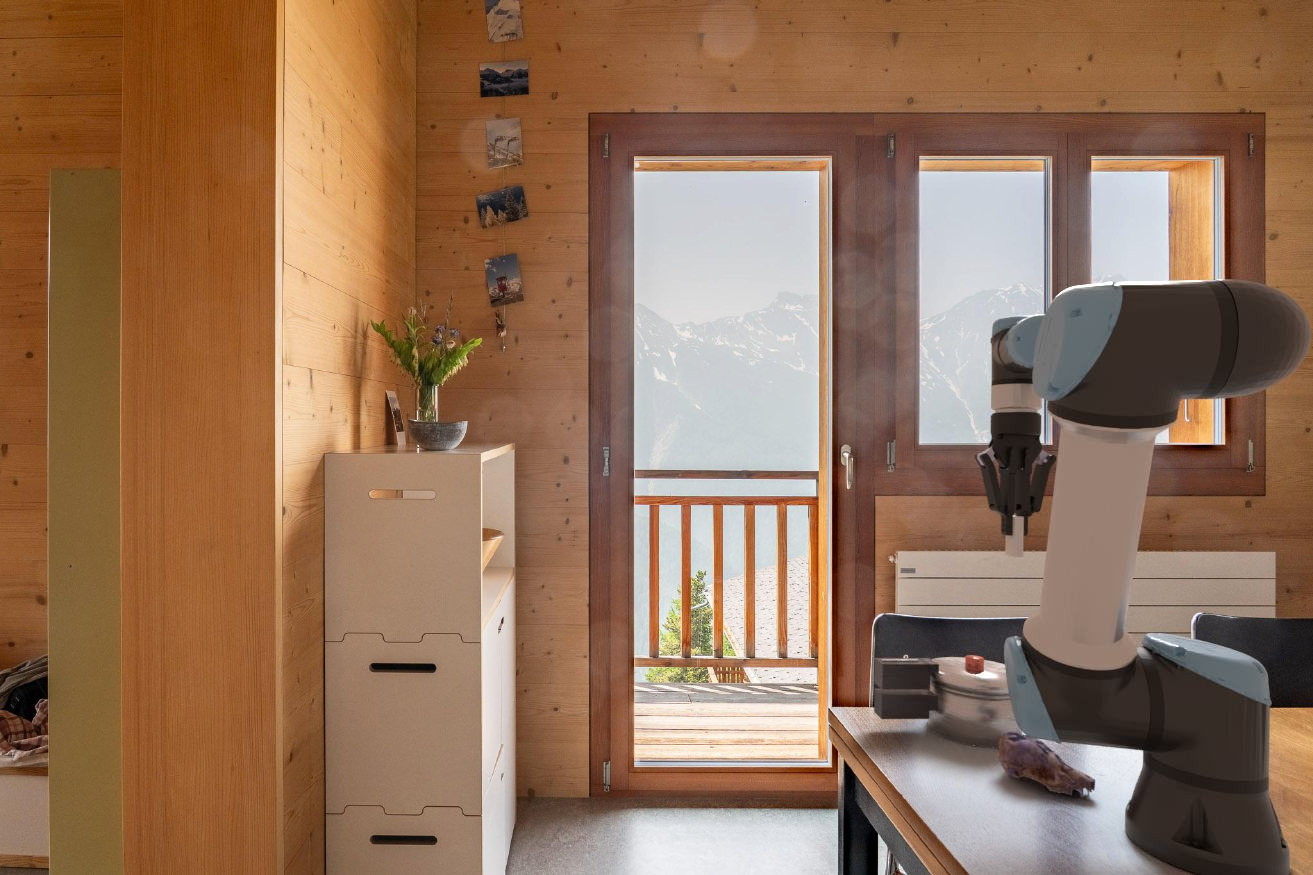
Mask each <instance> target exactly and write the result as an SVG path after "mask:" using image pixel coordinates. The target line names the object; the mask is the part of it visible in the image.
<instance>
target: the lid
mask: <svg viewBox="0 0 1313 875" xmlns="http://www.w3.org/2000/svg"><path fill="white" fill-rule="evenodd" d="M873 670H874V671H873V673H874V674H873V675H874V677H873V680H874V681H873V682H874V684H875V685H877V687H878V688H879V689H882V690H930V680H931V681H933V682H935V683H937V684H940V685H943V686H946V687H949V688H953V689H957V690H962V691H967V692H973V693H982V694H1009V691H1008V685H1007V678H1006V670H1005V663H1000V662H996V661H992V660H987V659H985V658H984V657H983V656H980V655H972V654H968V655H965V656H964V657H960V656H959V657H958V656H956V657H955V656H948V657H947V656H946V657H935V658H932V659H931V658H929V657H924V658H923V657H874V669H873Z"/></svg>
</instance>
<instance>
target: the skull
mask: <svg viewBox="0 0 1313 875" xmlns="http://www.w3.org/2000/svg"><path fill="white" fill-rule="evenodd" d="M997 761H998V763H999V764H1000V765H1001V768H1002V769H1003V770H1004V771H1005V772H1006V773H1007V774H1008V775H1010V776H1011V777H1013V778H1019V779H1020V778H1023V777H1025V778H1026V777H1027V778H1030V779H1031V780H1033V781H1036V782H1038V783H1040V784H1042V785H1043V786H1045V787H1046V788H1047V789H1048V791H1049V792H1054V793H1057V794H1066V795H1069V796H1071V797H1072V795H1073V791H1074V790H1076V791H1078V792H1079V793H1080V797H1081V798H1082V799H1084V789H1085V790H1086V791H1087V795H1088V796H1089V794H1090V793H1093V791H1095V789H1096V788H1095V786H1096V779H1095V778H1093V777H1092V776H1090V775H1088V774H1086V773H1084V772H1082V771H1080V770H1078V769H1076V768H1074V767H1072V766H1070V765H1069V764H1067V763H1066V762H1065V761H1064V760H1063V758H1061V757H1060V755H1059V754H1058V753H1057V752H1055V751H1054V750H1052V749H1051V748H1050V747H1049V746H1048V744H1046V743H1045V742H1043V740H1041V739H1037V738H1032V737H1029V736H1027V735H1026V734H1024V733H1022V734H1021V733H1018V732H1015V731H1008V732H1005V733H1004V734H1003V736H1002V737H1001V739H1000V741H999V748H998V754H997Z"/></svg>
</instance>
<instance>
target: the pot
mask: <svg viewBox="0 0 1313 875" xmlns="http://www.w3.org/2000/svg"><path fill="white" fill-rule="evenodd" d="M873 695H874V696H873V698H874V700H873V702H874V703H873V704H874V705H873V709H874V710H873V713H875V715H877V717H879V718H880V719H881V720H927V727H928V729H929V730H930V729H931V731H932V732H933V733H934V734H935V735H937V736H939V737H942V738H944V739H945V740H949V741H951V740H952V742H955V743H958V744H961V745H962V744H963V745H966V744H967V745H966V746H971V745H974V746H973V747H977V746H979V748H987V747H999V741H1000V739H1001V737H1002V736H1003V734H1004V733H1005V732H1008V731H1015V732H1018V733H1021V734H1023V732H1022V731H1021V730H1020V728H1019V727H1018V725H1017V722H1016V720H1015V717H1014V714H1013V710H1012V706H1011V701H1010V696H1009V694H982V693H973V692H967V691H962V690H957V689H953V688H949V687H946V686H943V685H940V684H937V683H935V682H933V681H931V680H930V690H882V689H881V688H874V694H873Z"/></svg>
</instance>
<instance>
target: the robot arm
mask: <svg viewBox="0 0 1313 875" xmlns="http://www.w3.org/2000/svg"><path fill="white" fill-rule="evenodd" d="M1311 327H1312V326H1311V323H1310V319H1309V316H1308V314H1307V313H1306V312H1305V310H1304V308H1303V307H1302V306H1301V305H1300V304H1299V303H1298V302H1297V301H1296V300H1295V299H1293V297H1291V296H1290V295H1288V294H1286V293H1285V292H1283V291H1281V290H1280V289H1278V288H1275V287H1272V286H1269V285H1266V284H1264V283H1259V282H1255V281H1250V280H1242V279H1228V278H1227V279H1226V278H1223V279H1211V280H1206V279H1205V280H1169V281H1167V280H1164V281H1163V280H1161V281H1159V280H1158V281H1118V282H1117V281H1105V282H1103V283H1093V284H1092V283H1091V284H1082V285H1074V286H1070V287H1068V288H1066V289H1064V290H1062V291H1061V292H1059V293H1058V294H1057V295H1056V296H1055V297H1054V298H1053V300H1052V301H1051V303H1050V304H1049V305H1048V307H1047V309H1046V311H1045V313H1043V314H1033V315H1011V316H1005V317H1001V318H997V319H996V320H994V322H993V323H992V327H991V329H992V330H991V337H990V344H991V345H990V346H991V381H990V382H991V385H990V386H991V387H990V393H991V394H990V409H991V410H992V411H994V412H993V413H991V415H990V435H991V437H990V438H991V439H990V441H989V443H988V448H986V449H985V450H984V451H982V452H979V453H975V455H974V460H975V461H976V463H977V464H978V466H979V468H980V471H981V472H980V473H981V477H982V481H983V486H984V490H985V494H986V498H987V502H988V503H987V504H988V507H989V510H990V511H992V512H996V513H997V514H999V515H1000V517H1001V518H1000V523H1001V524H1000V532H1001V535H1003V536H1005V549H1004V550H1005V553H1004V554H1005V556H1010V557H1014V558H1023V557H1024V537H1026V536H1028V534H1029V517H1032V516H1033V514H1035V513H1040V511H1041V509H1042V505H1043V501H1044V498H1045V493H1046V488H1047V484H1048V479H1049V475H1050V472H1051V470H1052V467H1053V465H1054V464H1056V468H1055V469H1056V470H1055V476H1054V483H1053V493H1052V501H1051V511H1050V519H1049V527H1048V528H1049V529H1048V536H1047V543H1046V554H1045V562H1044V570H1043V578H1042V579H1043V580H1042V587H1041V596H1040V604H1039V611H1037V612H1035V613H1033V614H1031V615H1030V616H1028V617H1027V618H1026V620H1025V621H1024V624H1023V627H1022V637H1020V636H1017V635H1014V636H1009V637H1007V638H1006V639H1005V642H1004V646H1003V658H1004V664H1005V670H1006V678H1007V685H1008V691H1009V696H1010V701H1011V706H1012V710H1013V714H1014V717H1015V720H1016V722H1017V725H1018V727H1019V728H1020V730H1021V731H1022V734H1023V735H1027V736H1029V737H1032V738H1037V739H1039V740H1042V741H1043V740H1045V741H1050V742H1055V743H1056V744H1059V745H1060V744H1062V743H1067V744H1076V745H1077V744H1078V745H1086V746H1097V747H1105V748H1112V749H1113V748H1115V749H1125V750H1134V751H1141V752H1142V767H1141V770H1140V773H1139V775H1138V777H1137V781H1136V783H1135V786H1134V789H1133V792H1132V795H1131V797H1130V800H1128V803H1127V804H1126V805H1125V810H1124V829H1125V830H1124V831H1125V832H1126V834H1127V836H1128V838H1129V839H1130V840H1131V841H1132V842H1133V843H1135V844H1136V845H1137V846H1138V847H1140V848H1141V849H1142V850H1144V851H1146V852H1147V853H1149V854H1150V855H1152V856H1154V857H1155V858H1158V859H1160V860H1162V861H1163V862H1166V863H1168V864H1171V865H1172V866H1175V867H1177V868H1180V869H1183V870H1186V871H1188V872H1191V873H1194V874H1197V875H1290V874H1291V872H1290V871H1291V869H1290V868H1291V867H1290V866H1291V864H1290V863H1291V861H1290V860H1291V853H1290V848H1289V846H1288V843H1287V841H1286V839H1285V838H1284V835H1283V830H1282V827H1281V823H1280V822H1279V819H1278V815H1277V813H1276V810H1275V808H1274V805H1273V802H1272V799H1271V797H1270V726H1271V724H1270V718H1271V717H1270V716H1271V715H1270V714H1271V713H1270V712H1271V708H1270V707H1271V706H1272V700H1271V696H1270V695H1271V694H1270V687H1269V675H1268V671H1267V669H1266V668H1265V666H1264V665H1263V664H1262V663H1261V662H1260V661H1259V660H1257V659H1256V658H1254V657H1252V656H1250V655H1248V654H1246V653H1244V652H1241V651H1239V650H1235V649H1233V648H1229V647H1226V646H1222V645H1219V644H1216V643H1211V642H1209V641H1204V640H1200V639H1196V638H1191V637H1187V636H1186V637H1185V636H1181V635H1176V634H1170V633H1161V632H1160V633H1159V632H1158V633H1157V632H1156V633H1155V632H1154V633H1153V632H1150V633H1146V634H1145V635H1144V636H1143V639H1141V645H1142V646H1137V643H1136V640H1135V639H1134V638H1133V636H1131V634H1130V633H1129V632H1128V631H1127V630H1125V627H1126V622H1127V616H1128V610H1129V605H1130V599H1131V598H1130V597H1131V590H1132V585H1133V579H1134V572H1135V568H1136V567H1135V566H1136V560H1137V556H1138V549H1139V548H1138V547H1139V542H1140V535H1141V529H1142V525H1143V523H1142V522H1143V517H1144V510H1145V506H1146V505H1145V504H1146V499H1147V493H1148V492H1147V491H1148V487H1149V480H1150V474H1151V466H1152V462H1153V456H1154V449H1155V443H1156V437H1157V436H1158V435H1159V434H1160V433H1162V432H1164V431H1166V430H1168V429H1169V428H1171V427H1173V426H1174V425H1175V424H1176V423H1177V420H1178V415H1179V414H1178V413H1179V408H1180V404H1181V401H1183V400H1219V399H1221V400H1222V399H1232V398H1239V397H1243V396H1244V397H1245V396H1248V395H1251V394H1252V395H1253V394H1257V393H1259V392H1261V391H1266V390H1267V389H1270V388H1272V387H1273V386H1276V385H1277V384H1280V383H1281V382H1282V381H1284V380H1285V379H1287V378H1288V377H1290V376H1291V375H1292V374H1293V373H1294V372H1295V371H1296V370H1298V368H1299V367H1301V364H1302V363H1303V361H1305V358H1306V357H1307V354H1308V352H1309V349H1310V347H1311V343H1312V337H1313V336H1312V328H1311ZM1043 399H1044V400H1045V401H1047V407H1046V408H1047V409H1046V410H1047V414H1049V415H1050V417H1051V418H1052V419H1053V420H1055V422H1056V423H1057V424H1058V425H1059V426H1060V432H1059V442H1058V450H1057V456H1056V455H1055V454H1049V453H1048V452H1047V451H1045V450H1044V449H1043V444H1042V442H1041V439H1040V437H1041V434H1042V415H1041V413H1039V412H1038V411H1040V410H1041V409H1042V408H1043V406H1042V405H1043V404H1042V403H1043ZM994 461H996V462H997V464H998V473H999V475H1000V476H999V478H998V473H997V469H996V466H995V463H994ZM1034 462H1035V463H1036V464H1035V467H1034V470H1033V464H1034ZM1055 462H1056V463H1055ZM1032 473H1033V474H1032ZM1031 475H1032V478H1031Z"/></svg>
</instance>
